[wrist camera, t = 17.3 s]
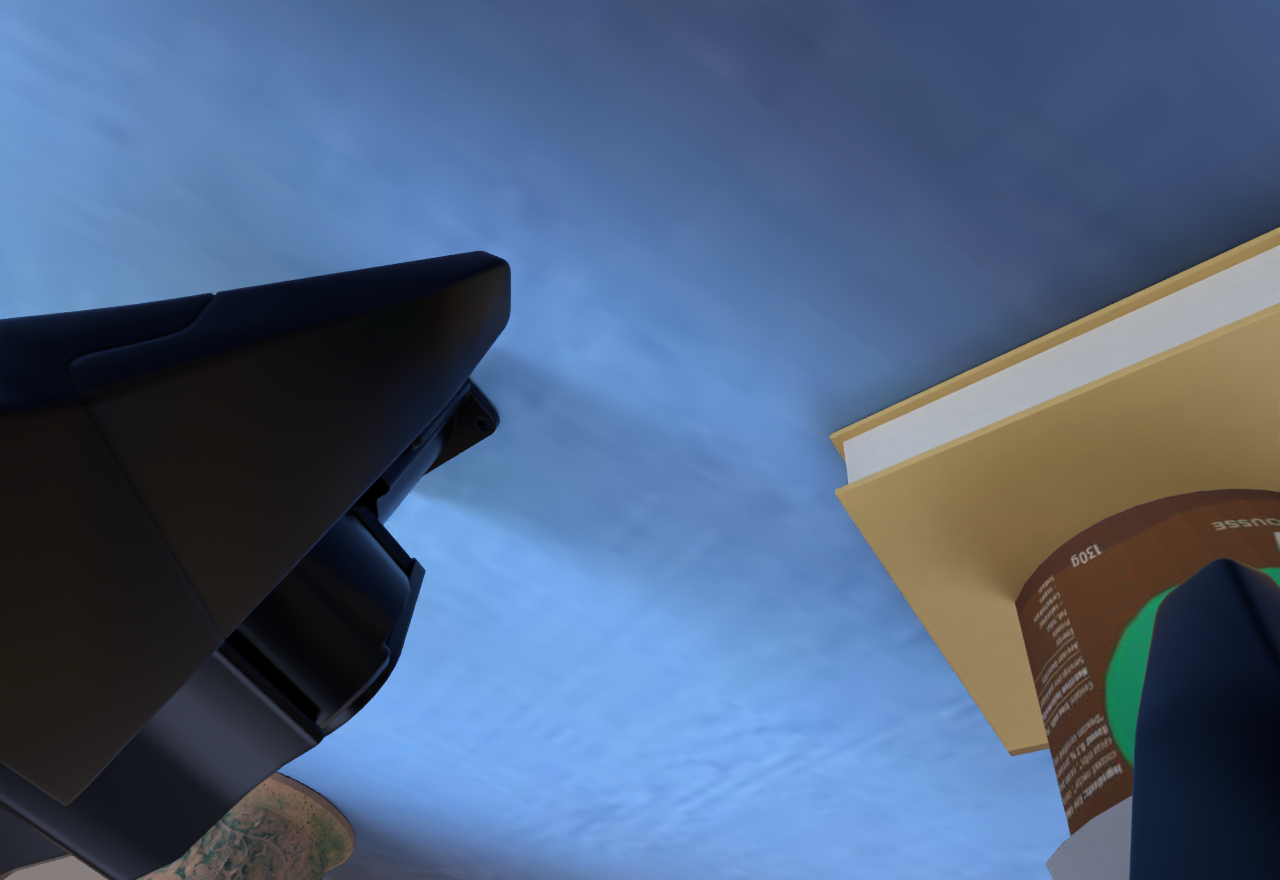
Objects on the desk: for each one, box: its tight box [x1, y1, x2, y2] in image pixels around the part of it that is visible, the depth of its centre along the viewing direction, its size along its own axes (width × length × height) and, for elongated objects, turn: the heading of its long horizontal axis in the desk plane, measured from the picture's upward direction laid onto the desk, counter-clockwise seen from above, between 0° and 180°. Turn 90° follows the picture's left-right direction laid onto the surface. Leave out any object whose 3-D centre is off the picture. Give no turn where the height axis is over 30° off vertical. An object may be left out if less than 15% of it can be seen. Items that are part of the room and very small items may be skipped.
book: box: [830, 227, 1280, 756], centre depth 20 cm, size 17×13×4 cm
